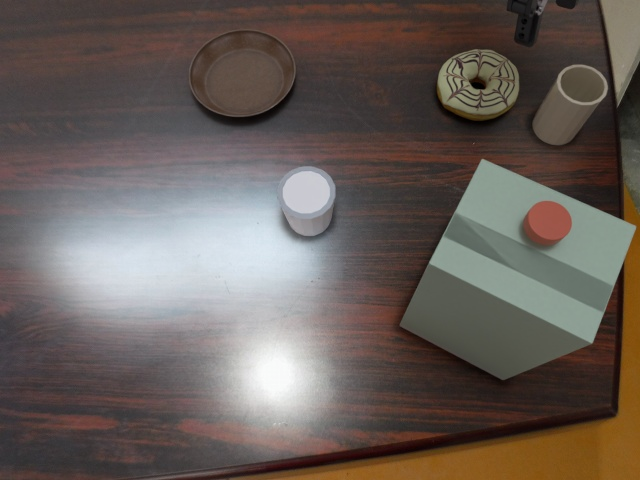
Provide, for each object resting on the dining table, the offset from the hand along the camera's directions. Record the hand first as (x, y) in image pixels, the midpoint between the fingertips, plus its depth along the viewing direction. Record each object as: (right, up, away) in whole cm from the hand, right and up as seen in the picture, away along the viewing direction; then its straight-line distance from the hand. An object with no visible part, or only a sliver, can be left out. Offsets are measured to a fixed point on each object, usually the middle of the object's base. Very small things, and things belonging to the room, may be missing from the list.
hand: (545, 24), depth 58 cm
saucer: (-35, -1, +19) cm, 40 cm away
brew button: (-7, -22, -17) cm, 29 cm away
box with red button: (-6, -30, +6) cm, 31 cm away
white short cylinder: (-26, -20, +11) cm, 34 cm away
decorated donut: (-3, -2, +15) cm, 15 cm away
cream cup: (+7, -8, +14) cm, 18 cm away
